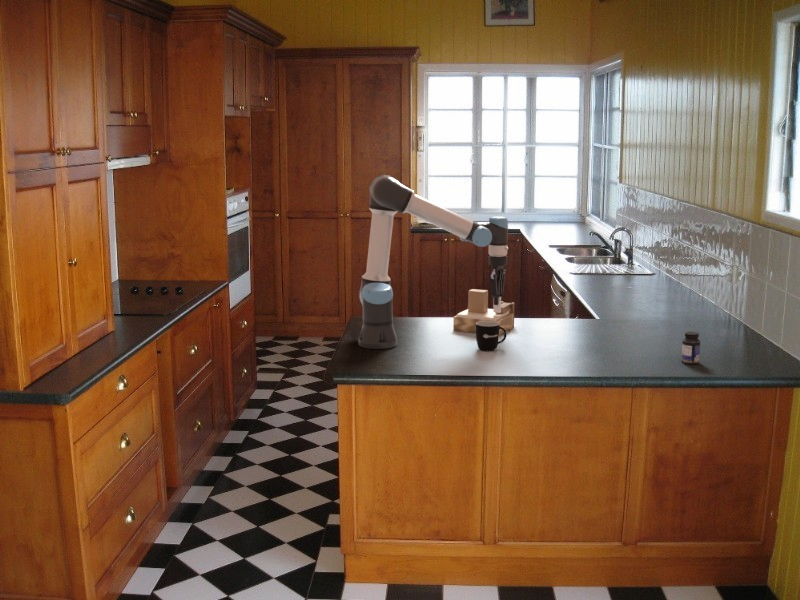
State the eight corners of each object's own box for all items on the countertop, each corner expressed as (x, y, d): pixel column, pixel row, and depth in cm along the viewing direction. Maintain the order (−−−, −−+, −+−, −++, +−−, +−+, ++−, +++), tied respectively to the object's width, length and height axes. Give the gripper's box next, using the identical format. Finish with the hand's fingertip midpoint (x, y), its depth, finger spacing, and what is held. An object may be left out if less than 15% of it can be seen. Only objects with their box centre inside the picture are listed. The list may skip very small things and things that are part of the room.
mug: (479, 353, 332) (480, 326, 330) (472, 347, 340) (472, 321, 338) (510, 351, 334) (510, 324, 332) (502, 345, 343) (502, 319, 341)
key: (495, 312, 365) (495, 306, 364) (505, 307, 375) (505, 302, 374) (503, 313, 363) (503, 307, 363) (512, 308, 373) (512, 302, 373)
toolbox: (453, 330, 366) (453, 306, 364) (470, 321, 382) (470, 298, 380) (498, 335, 357) (499, 310, 355) (514, 326, 373) (514, 302, 371)
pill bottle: (695, 360, 321) (697, 330, 318) (701, 364, 315) (703, 334, 312) (678, 360, 320) (680, 330, 318) (684, 365, 314) (686, 334, 312)
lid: (457, 319, 365) (457, 292, 363) (471, 312, 378) (472, 286, 376) (495, 323, 357) (496, 296, 355) (509, 315, 371) (509, 289, 369)
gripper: (500, 258, 349) (499, 316, 354) (512, 253, 361) (511, 310, 365) (483, 256, 353) (482, 314, 358) (495, 252, 364) (494, 308, 369)
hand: (497, 312), depth 361 cm, fingers closed
